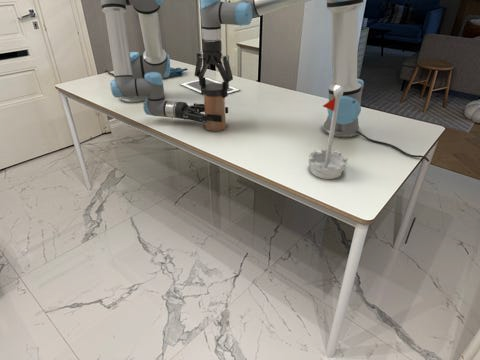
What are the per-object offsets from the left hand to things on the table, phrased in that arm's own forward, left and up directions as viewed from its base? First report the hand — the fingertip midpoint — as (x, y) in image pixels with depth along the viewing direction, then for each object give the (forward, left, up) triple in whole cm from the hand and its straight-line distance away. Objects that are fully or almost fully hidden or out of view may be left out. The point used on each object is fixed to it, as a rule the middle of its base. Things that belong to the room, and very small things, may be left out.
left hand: (224, 114), depth 149 cm
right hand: (-4, -2, +8) cm, 10 cm away
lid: (-4, -2, +12) cm, 13 cm away
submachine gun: (-88, +35, -6) cm, 95 cm away
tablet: (-45, +37, -6) cm, 58 cm away
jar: (-4, -2, -6) cm, 8 cm away
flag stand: (+53, -5, -6) cm, 53 cm away
